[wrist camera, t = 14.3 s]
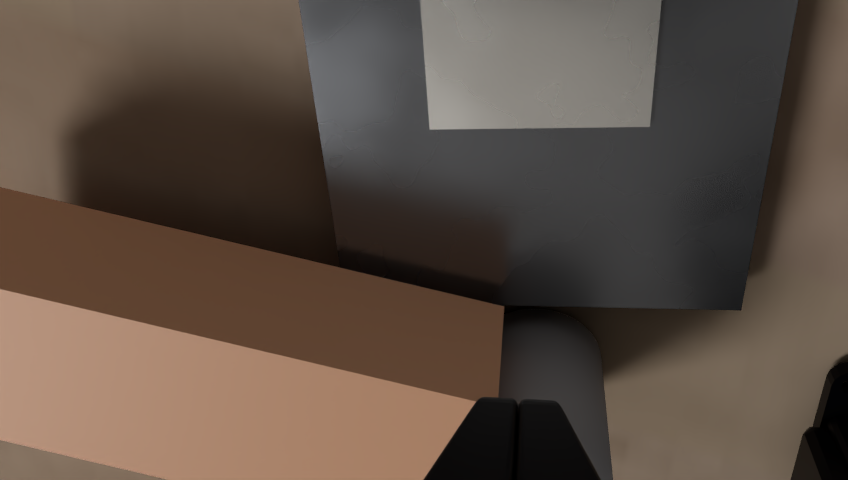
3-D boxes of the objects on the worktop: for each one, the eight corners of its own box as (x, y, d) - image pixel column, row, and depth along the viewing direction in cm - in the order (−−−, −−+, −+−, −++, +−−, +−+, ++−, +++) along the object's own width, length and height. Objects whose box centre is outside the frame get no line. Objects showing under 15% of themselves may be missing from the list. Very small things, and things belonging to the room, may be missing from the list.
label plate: (842, -342, 13) (865, -348, 12) (732, 286, 20) (741, 312, 19) (269, -289, 14) (251, -290, 14) (353, 280, 21) (344, 304, 20)
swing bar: (627, 306, 20) (649, 451, 16) (571, 433, 23) (578, 585, 19) (26, 164, 20) (-106, 272, 16) (41, 308, 23) (-68, 432, 19)
